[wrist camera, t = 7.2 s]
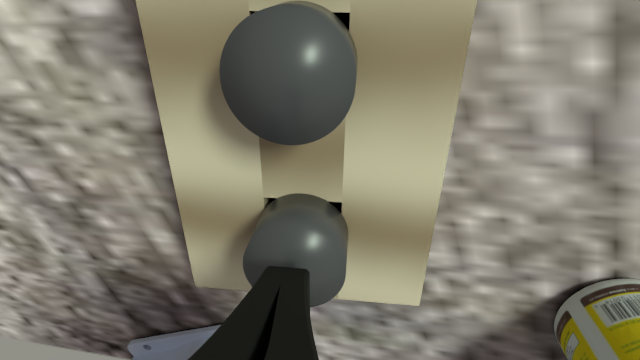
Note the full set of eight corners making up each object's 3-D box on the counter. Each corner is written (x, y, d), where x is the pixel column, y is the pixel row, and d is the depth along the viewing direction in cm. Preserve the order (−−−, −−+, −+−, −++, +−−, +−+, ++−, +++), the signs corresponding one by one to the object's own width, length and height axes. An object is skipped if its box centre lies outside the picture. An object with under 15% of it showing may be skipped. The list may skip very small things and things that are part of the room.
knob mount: (411, 259, 19) (419, 305, 16) (218, 245, 20) (195, 286, 17) (514, -379, 9) (575, -523, 6) (124, -350, 10) (38, -466, 7)
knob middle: (356, 96, 15) (352, 148, 10) (268, 92, 15) (227, 142, 11) (361, -4, 13) (360, 7, 9) (262, -5, 14) (210, 4, 9)
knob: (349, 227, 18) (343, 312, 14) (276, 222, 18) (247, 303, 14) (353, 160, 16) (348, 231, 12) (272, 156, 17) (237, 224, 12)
